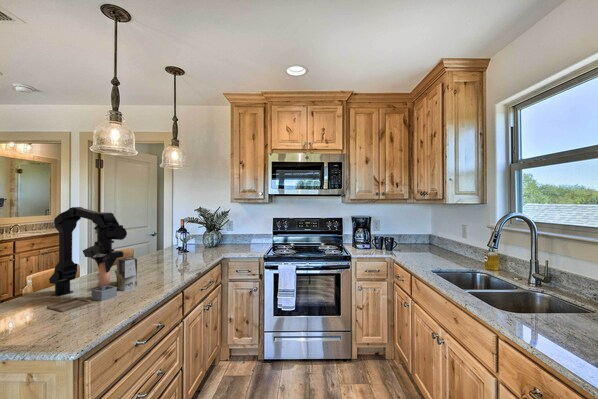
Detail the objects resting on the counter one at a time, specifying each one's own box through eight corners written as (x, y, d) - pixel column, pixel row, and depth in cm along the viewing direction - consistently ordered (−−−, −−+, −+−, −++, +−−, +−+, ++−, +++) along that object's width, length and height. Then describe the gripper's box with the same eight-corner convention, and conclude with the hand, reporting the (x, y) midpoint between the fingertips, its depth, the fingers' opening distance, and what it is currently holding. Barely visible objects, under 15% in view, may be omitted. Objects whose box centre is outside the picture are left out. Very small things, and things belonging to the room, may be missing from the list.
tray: (46, 309, 115) (46, 306, 115) (76, 300, 126) (76, 297, 126) (62, 313, 111) (62, 310, 111) (92, 304, 122) (92, 300, 122)
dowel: (97, 284, 127) (97, 263, 127) (105, 282, 131) (106, 261, 131) (102, 285, 125) (102, 264, 126) (111, 283, 129) (111, 262, 129)
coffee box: (137, 288, 143) (137, 258, 143) (124, 292, 137) (124, 260, 138) (128, 285, 148) (129, 256, 148) (115, 289, 142) (116, 258, 142)
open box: (91, 300, 126) (91, 289, 126) (107, 295, 133) (107, 285, 133) (101, 302, 124) (101, 291, 124) (116, 297, 130) (116, 287, 130)
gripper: (73, 240, 124) (72, 274, 124) (99, 242, 117) (99, 278, 117) (98, 237, 134) (98, 268, 134) (124, 239, 128) (124, 272, 128)
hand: (104, 271), depth 128 cm, fingers closed on dowel, 4 cm apart
